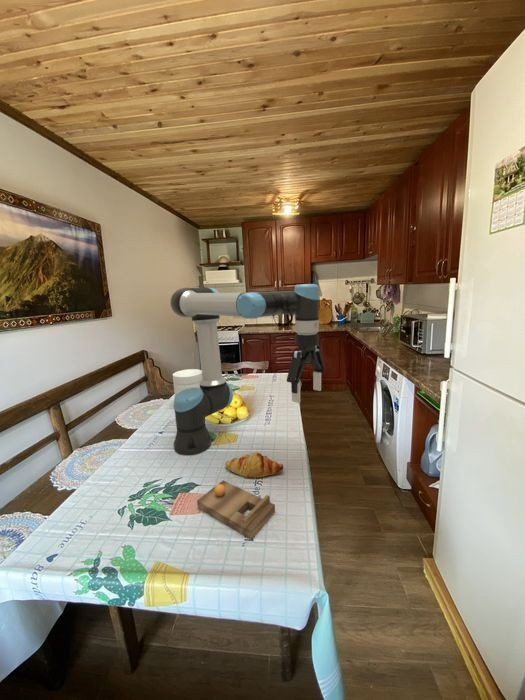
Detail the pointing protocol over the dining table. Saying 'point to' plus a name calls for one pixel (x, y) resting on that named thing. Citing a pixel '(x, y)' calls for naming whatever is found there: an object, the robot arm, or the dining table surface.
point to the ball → (219, 490)
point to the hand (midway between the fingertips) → (307, 395)
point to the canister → (186, 379)
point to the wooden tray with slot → (238, 509)
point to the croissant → (253, 466)
